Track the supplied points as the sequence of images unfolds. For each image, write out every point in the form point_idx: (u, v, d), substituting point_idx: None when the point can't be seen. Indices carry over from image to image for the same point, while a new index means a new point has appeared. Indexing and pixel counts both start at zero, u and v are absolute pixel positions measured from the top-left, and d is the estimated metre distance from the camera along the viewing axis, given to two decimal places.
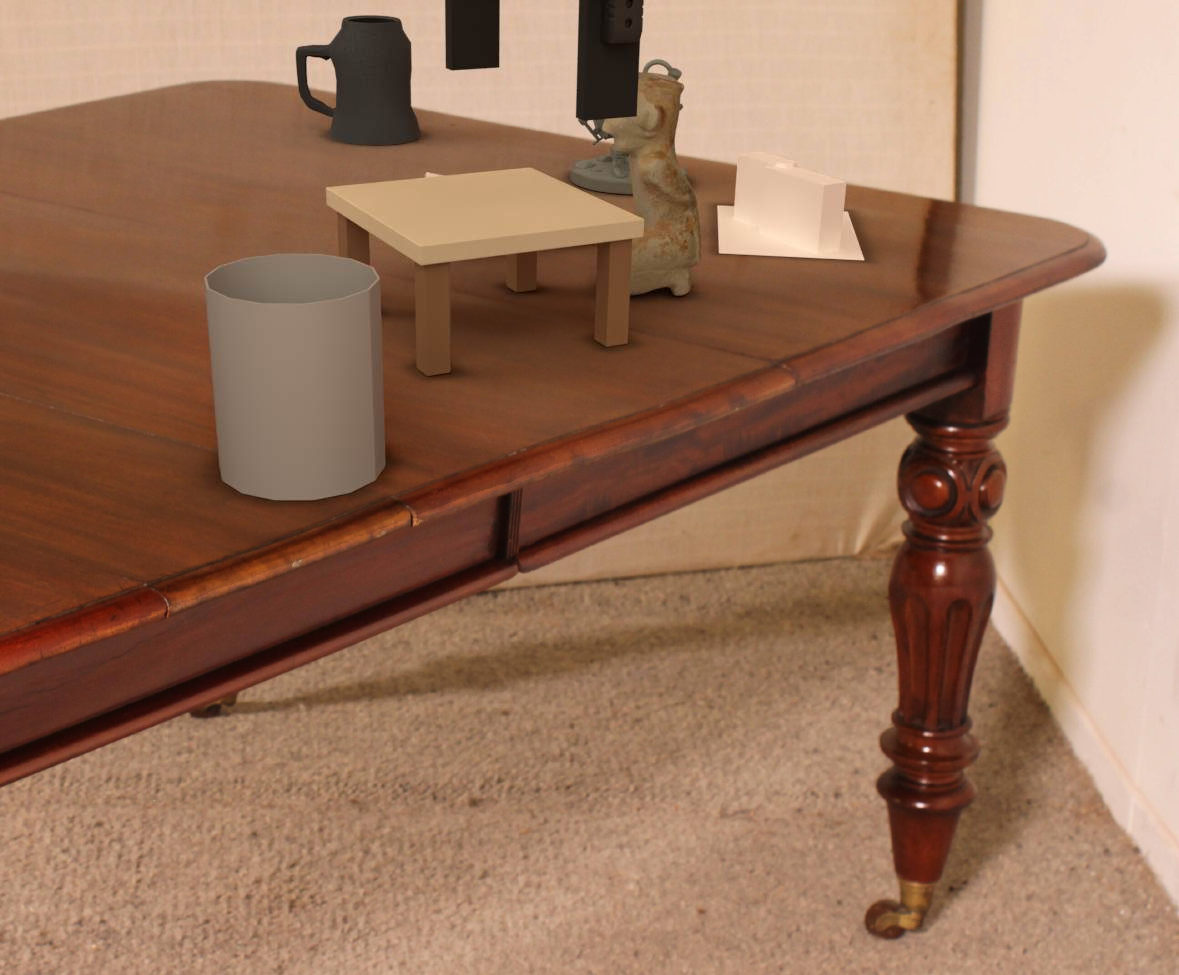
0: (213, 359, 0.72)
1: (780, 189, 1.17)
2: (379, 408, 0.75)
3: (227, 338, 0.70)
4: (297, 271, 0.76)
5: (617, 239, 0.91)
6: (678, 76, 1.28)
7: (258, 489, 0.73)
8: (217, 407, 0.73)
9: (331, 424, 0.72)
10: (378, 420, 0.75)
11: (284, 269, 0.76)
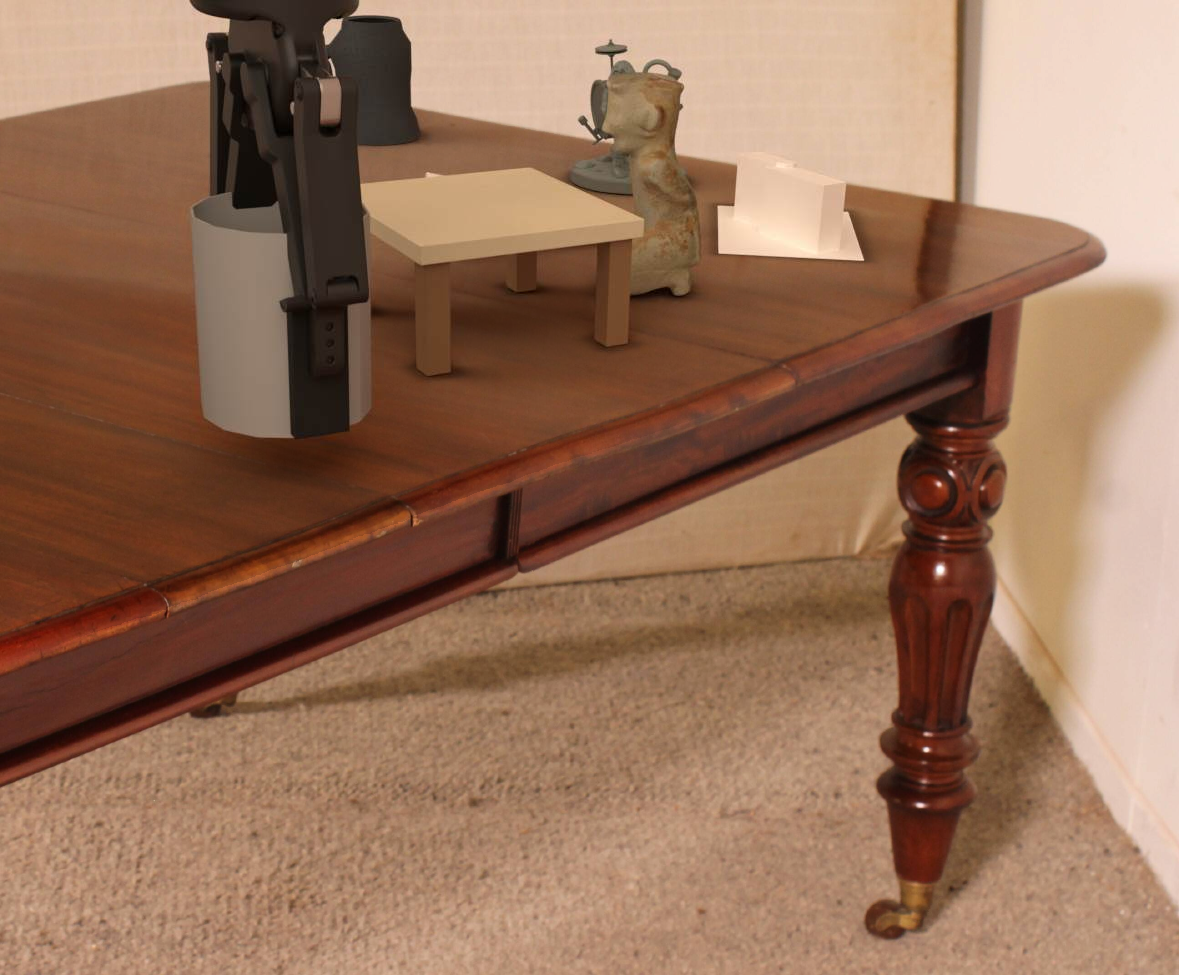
0: (197, 291, 0.70)
1: (780, 189, 1.17)
2: (366, 347, 0.73)
3: (212, 268, 0.69)
4: None
5: (617, 239, 0.91)
6: (678, 76, 1.28)
7: (240, 426, 0.71)
8: (200, 341, 0.71)
9: None
10: (365, 359, 0.73)
11: None
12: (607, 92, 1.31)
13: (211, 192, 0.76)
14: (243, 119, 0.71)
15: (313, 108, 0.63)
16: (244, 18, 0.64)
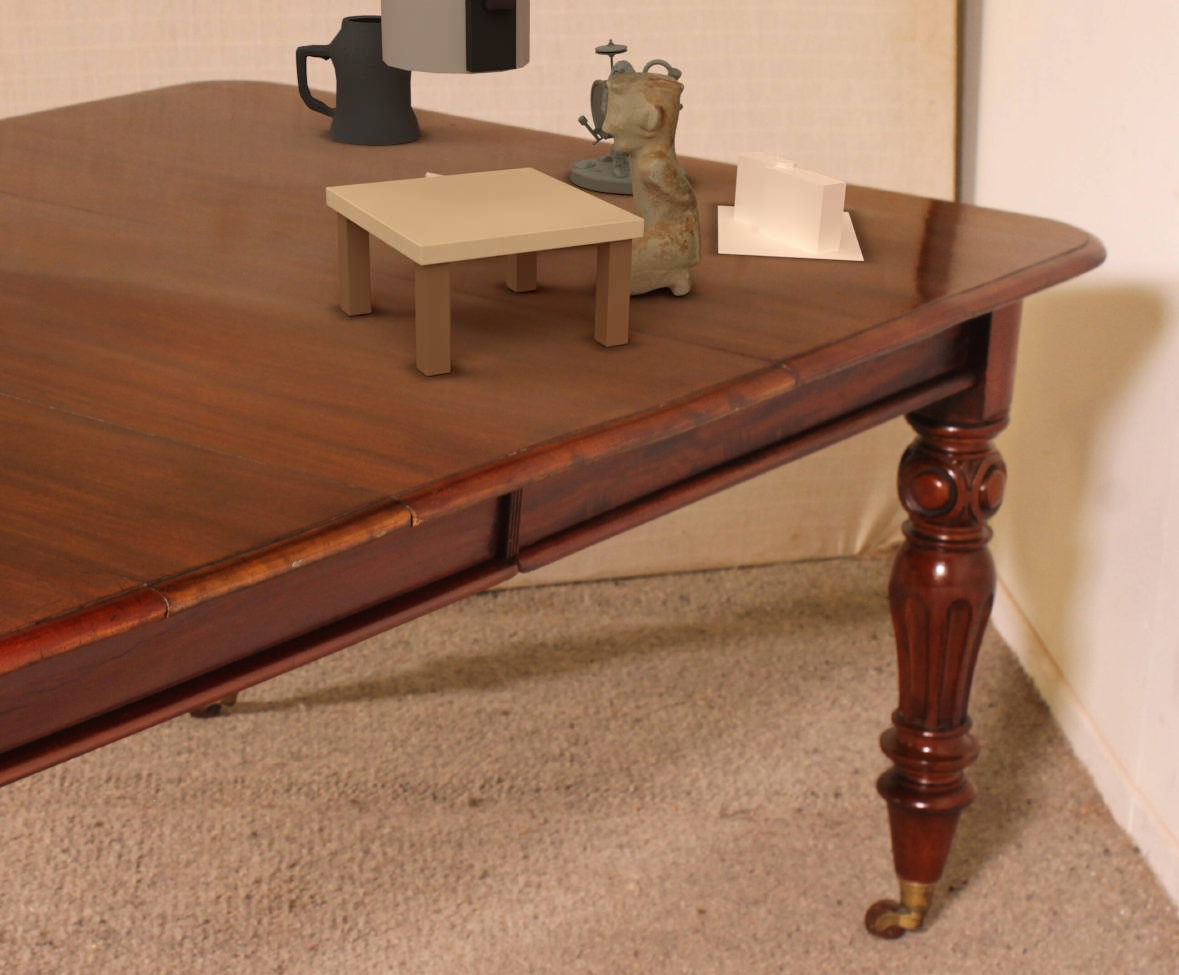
0: None
1: (780, 189, 1.17)
2: (527, 1, 0.84)
3: None
4: None
5: (617, 239, 0.91)
6: (678, 76, 1.28)
7: (423, 64, 0.82)
8: None
9: None
10: (526, 11, 0.84)
11: None
12: (607, 92, 1.31)
13: None
14: None
15: None
16: None
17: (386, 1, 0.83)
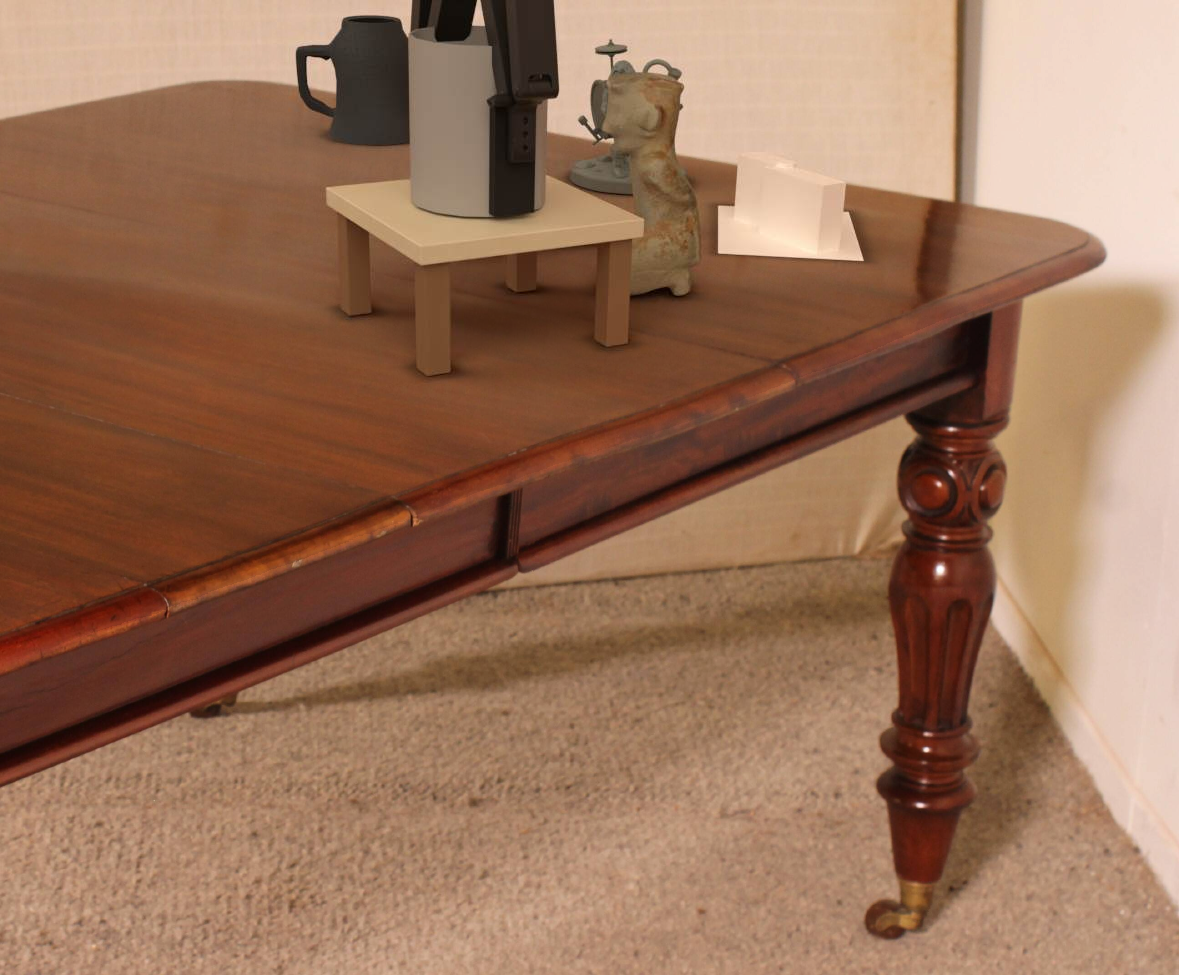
0: (416, 99, 0.89)
1: (780, 189, 1.17)
2: (544, 148, 0.92)
3: (431, 77, 0.87)
4: (475, 40, 0.93)
5: (617, 239, 0.91)
6: (678, 76, 1.28)
7: (449, 208, 0.90)
8: (416, 141, 0.90)
9: None
10: (543, 158, 0.92)
11: (465, 39, 0.93)
12: (607, 92, 1.31)
13: None
14: None
15: None
16: None
17: (416, 149, 0.90)
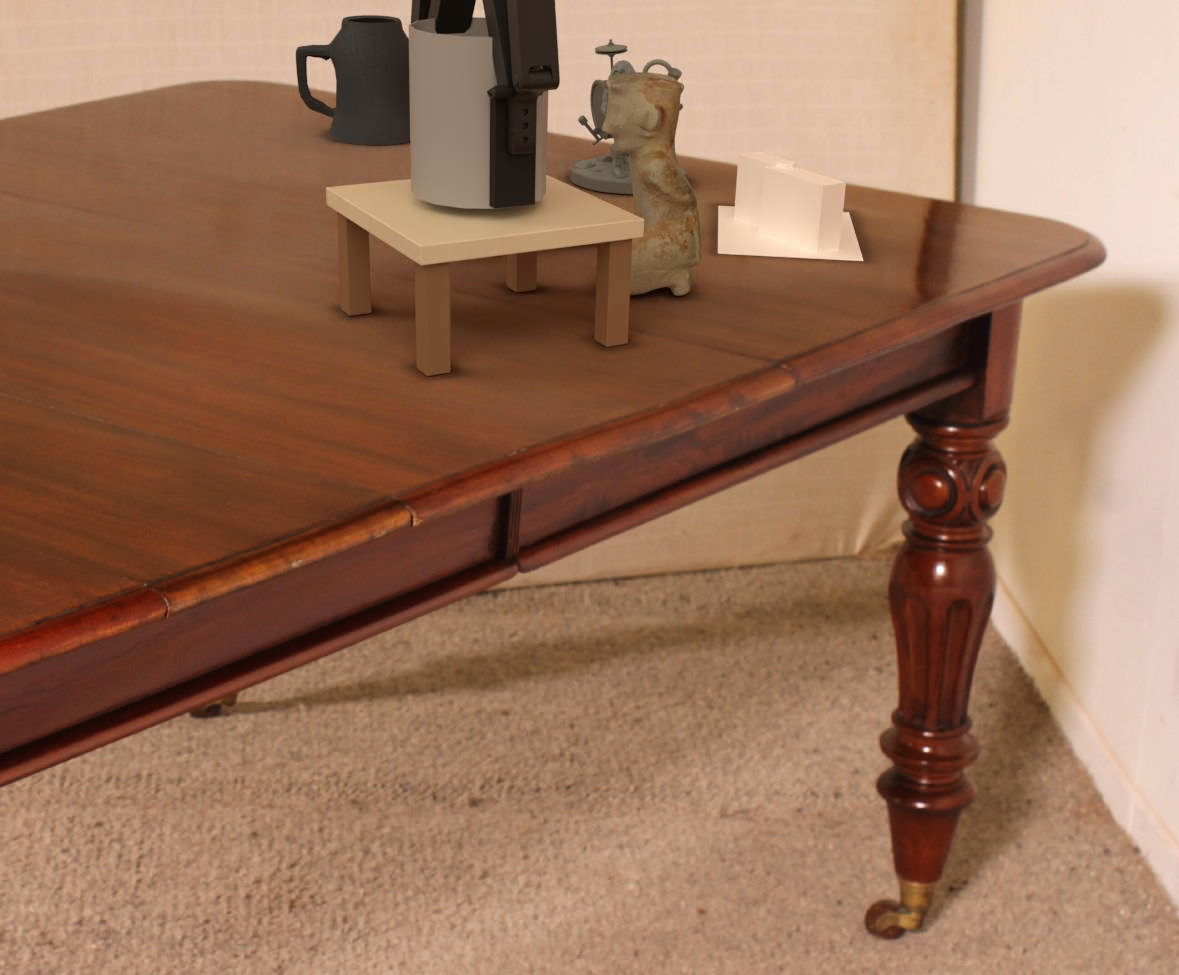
0: (416, 91, 0.89)
1: (780, 189, 1.17)
2: (545, 140, 0.92)
3: (431, 69, 0.87)
4: (475, 32, 0.93)
5: (617, 239, 0.91)
6: (678, 76, 1.28)
7: (449, 199, 0.90)
8: (417, 133, 0.90)
9: None
10: (544, 150, 0.92)
11: None
12: (607, 92, 1.31)
13: None
14: None
15: None
16: None
17: (416, 141, 0.90)
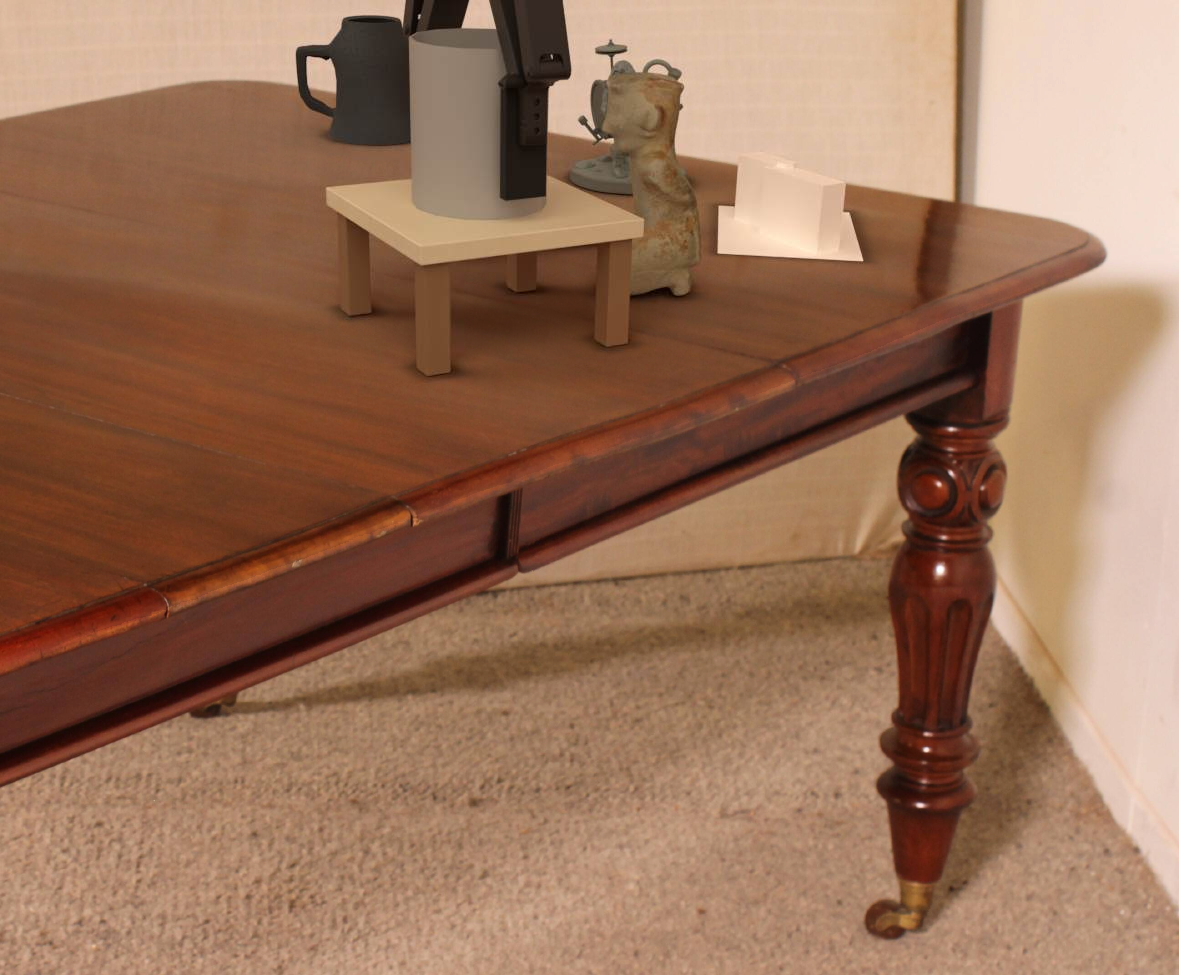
0: (416, 102, 0.89)
1: (780, 189, 1.17)
2: None
3: (431, 81, 0.87)
4: (475, 43, 0.94)
5: (617, 239, 0.91)
6: (678, 76, 1.28)
7: (450, 210, 0.90)
8: (417, 144, 0.90)
9: None
10: None
11: (465, 41, 0.94)
12: (607, 92, 1.31)
13: (406, 10, 0.95)
14: None
15: None
16: None
17: (417, 152, 0.90)
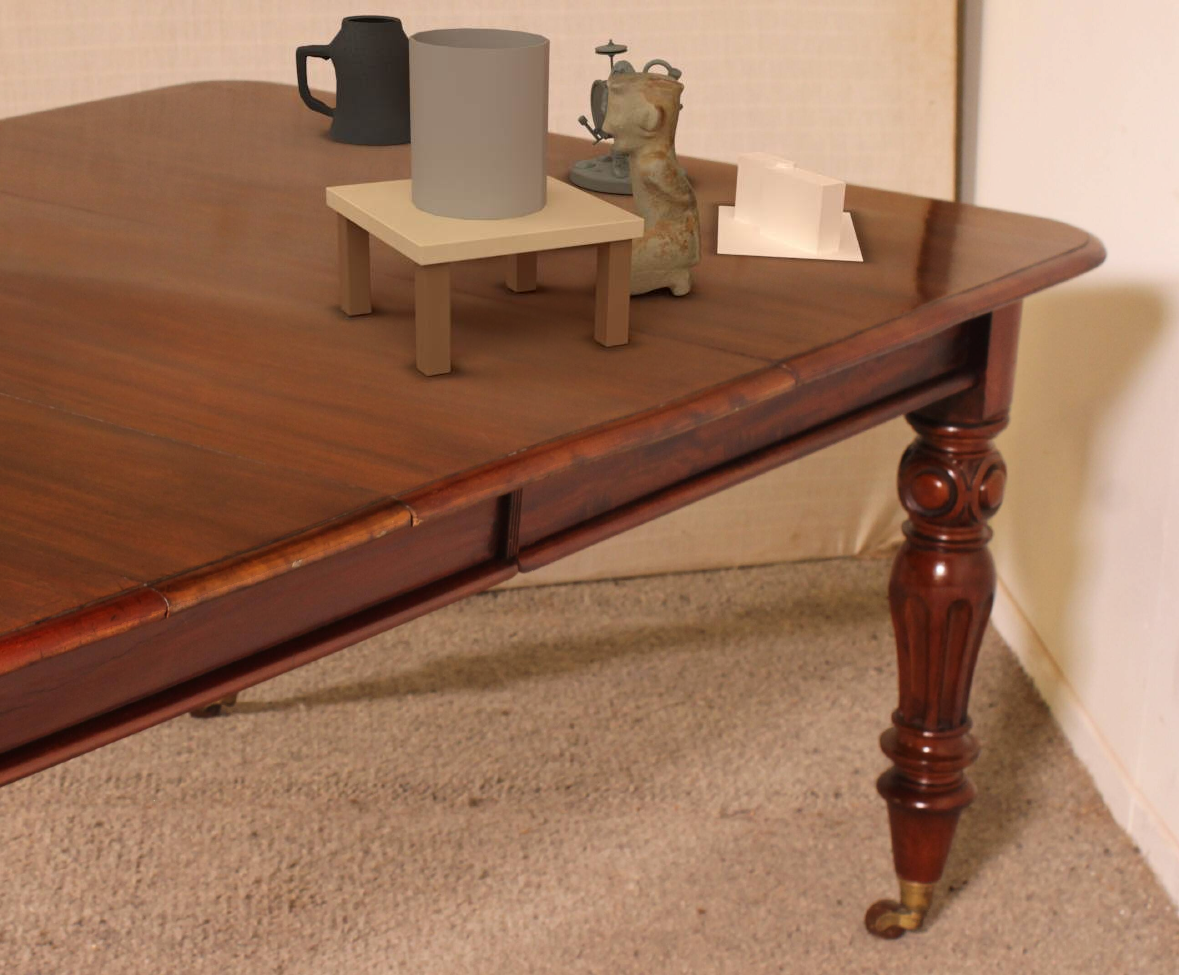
0: (416, 102, 0.89)
1: (780, 189, 1.17)
2: (545, 150, 0.92)
3: (431, 81, 0.88)
4: (475, 43, 0.94)
5: (617, 239, 0.91)
6: (678, 76, 1.28)
7: (450, 210, 0.90)
8: (417, 144, 0.90)
9: (511, 155, 0.89)
10: (544, 160, 0.92)
11: (465, 41, 0.94)
12: (607, 92, 1.31)
13: None
14: None
15: None
16: None
17: (417, 152, 0.90)
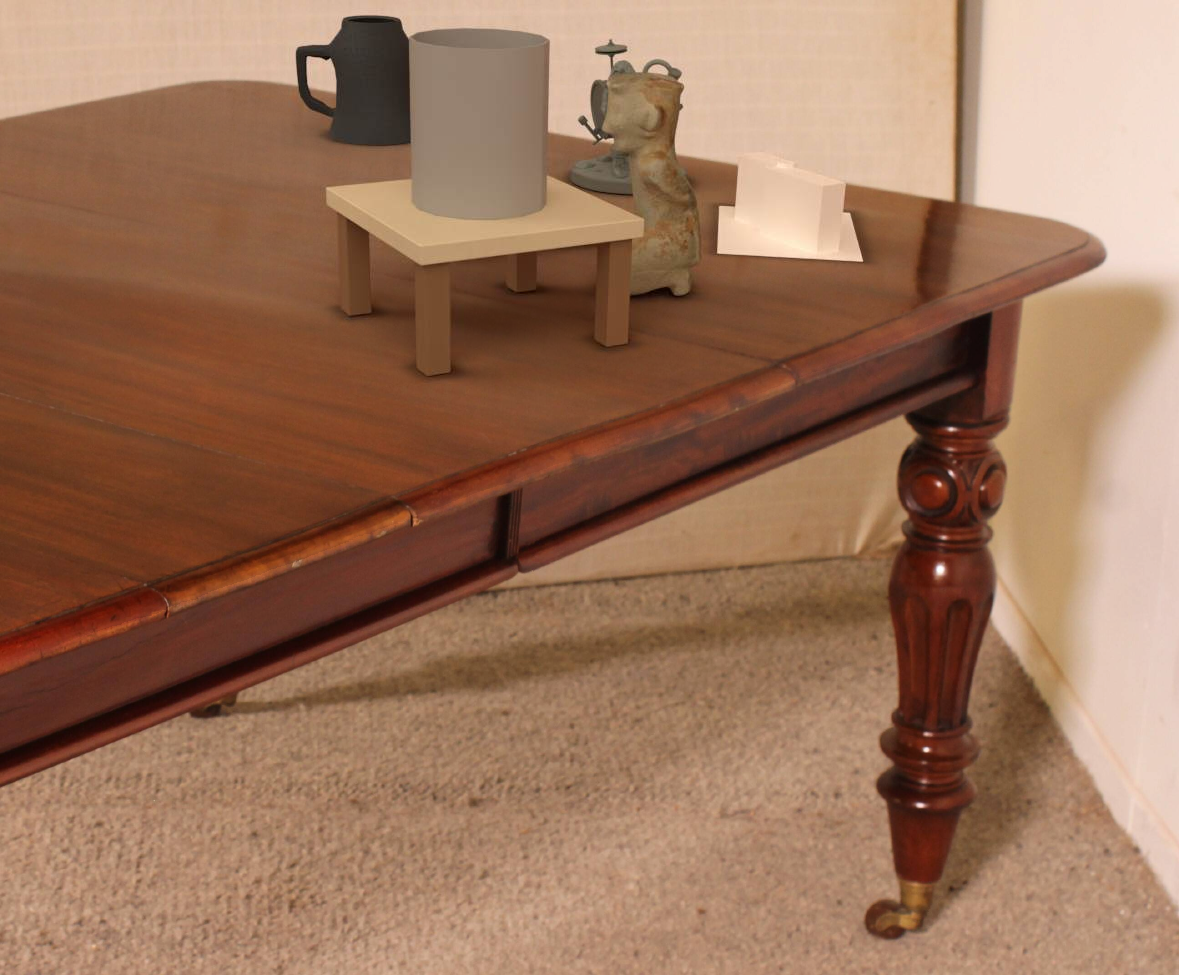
0: (416, 102, 0.89)
1: (780, 189, 1.17)
2: (545, 150, 0.92)
3: (431, 81, 0.88)
4: (475, 43, 0.94)
5: (617, 239, 0.91)
6: (678, 76, 1.28)
7: (450, 210, 0.90)
8: (417, 144, 0.90)
9: (511, 155, 0.89)
10: (544, 160, 0.92)
11: (465, 41, 0.94)
12: (607, 92, 1.31)
13: None
14: None
15: None
16: None
17: (417, 152, 0.90)
